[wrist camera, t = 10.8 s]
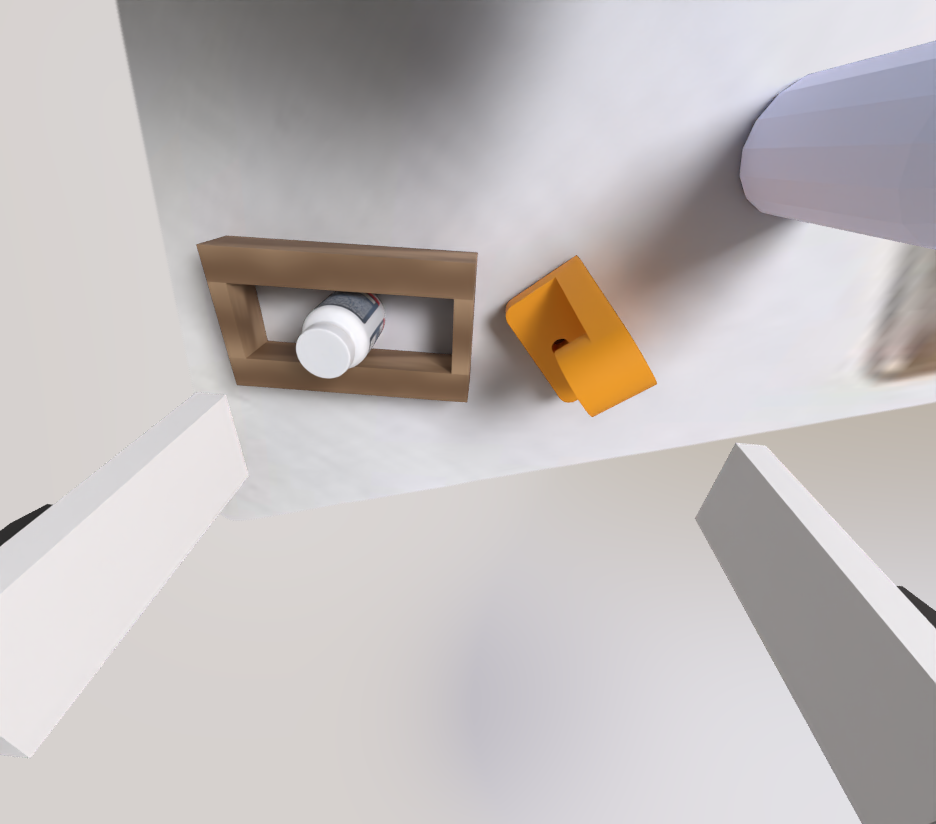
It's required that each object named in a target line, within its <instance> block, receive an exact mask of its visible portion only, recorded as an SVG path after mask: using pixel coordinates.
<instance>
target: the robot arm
mask: <svg viewBox="0 0 936 824" xmlns="http://www.w3.org/2000/svg"><path fill="white" fill-rule="evenodd" d="M248 476H249V473H248V470H247V466H246V463H245V459H244V456H243V453H242V449H241V446H240V442H239V439H238V435H237V432H236V428H235V425H234V421H233V418H232V414H231V411H230V407H229V404H228V401H227V397H226V395H224V394H213V393H203V392H196V393H194V394H193V395H192V396H191V397H190V398H188V399H187V400H186V401H185V402H183V403H182V404H181V405H179V406H178V407H177V408H175V409H174V410H173V411H172V412H170V413H169V414H168V415H167V416H165V417H164V418H163V419H161V420H160V421H159V422H158V423H156V424H155V425H154V426H153V427H151V428H150V429H149V430H148V431H146V432H145V433H144V434H143V435H141V436H140V437H139V438H137V439H136V440H135V441H134V442H132V443H131V444H130V445H129V446H127V447H126V448H125V449H123V450H122V451H121V452H120V453H118V454H117V455H116V456H115V457H113V458H112V459H111V460H109V461H108V462H107V463H106V464H105V465H103V466H102V467H101V468H99V469H98V470H97V471H95V472H94V473H93V474H92V475H90V476H89V477H88V478H87V479H85V480H84V481H83V482H82V483H80V484H79V485H78V486H76V487H75V488H74V489H73V490H71V491H70V492H69V493H68V494H66V495H65V496H64V497H62V498H61V499H60V500H59V501H58V502H56V503H55V504H54V505H50V504H47V505H45V506H43V507H41V508H39V509H37V510H35V511H33V512H31V513H29V514H27V515H25V516H24V517H22V518H20V519H18V520H16V521H14V522H12V523H10V524H9V525H7V526H6V527H5V528H4V529H2V530H1V531H0V755H4V756H13V757H24V758H31V757H32V755H33V754H34V753H35V751H36V750H37V749H38V748H39V746H40V745H41V744H42V742H43V741H44V740H45V738H46V737H47V736H48V735H49V733H50V732H51V731H52V729H53V728H54V727H55V726H56V724H57V723H58V722H59V720H60V719H61V718H62V717H63V715H64V714H65V713H66V711H67V710H68V709H69V707H70V706H71V705H72V704H73V702H74V701H75V700H76V698H77V697H78V696H79V695H80V693H81V692H82V691H83V689H84V688H85V687H86V685H87V684H88V683H89V682H90V680H91V679H92V678H93V676H94V675H95V674H96V672H97V671H98V670H99V668H100V667H101V666H102V665H103V663H104V662H105V661H106V660H107V658H108V657H109V656H110V654H111V653H112V652H113V651H114V649H115V648H116V647H117V645H118V644H119V643H120V641H121V640H122V639H123V638H124V636H125V635H126V634H127V633H128V631H129V630H130V629H131V627H132V626H133V625H134V623H135V622H136V621H137V619H138V618H139V617H140V616H141V614H142V613H143V612H144V610H145V609H146V608H147V607H148V605H149V604H150V603H151V601H152V600H153V599H154V598H155V596H156V595H157V594H158V592H159V591H160V590H161V589H162V587H163V586H164V585H165V583H166V582H167V581H168V580H169V578H170V577H171V575H172V574H173V573H174V572H175V570H176V569H177V568H178V567H179V565H180V564H181V563H182V561H183V560H184V559H185V558H186V556H187V555H188V554H189V552H190V551H191V550H192V548H193V547H194V546H195V545H196V543H197V542H198V541H199V539H200V538H201V537H202V536H203V534H204V533H205V532H206V530H207V529H208V528H209V527H210V525H211V524H212V522H213V521H214V520H215V519H216V517H217V516H218V515H219V514H220V512H221V511H222V510H223V508H224V507H225V506H226V505H227V503H228V502H229V501H230V499H231V498H232V497H233V496H234V494H235V493H236V492H237V490H238V489H239V488H240V486H241V485H242V484H243V483H244V481H245V480H246V479H247V477H248ZM695 519H696V521H697V523H698V525H699V526H700V528H701V530H702V532H703V534H704V536H705V538H706V539H707V541H708V543H709V545H710V547H711V549H712V550H713V552H714V554H715V556H716V558H717V559H718V561H719V563H720V565H721V567H722V569H723V571H724V572H725V574H726V576H727V578H728V580H729V581H730V583H731V585H732V587H733V589H734V591H735V592H736V594H737V596H738V598H739V600H740V602H741V603H742V605H743V607H744V609H745V611H746V613H747V614H748V616H749V618H750V620H751V621H752V623H753V625H754V627H755V629H756V631H757V633H758V635H759V636H760V638H761V640H762V642H763V644H764V646H765V647H766V649H767V651H768V653H769V655H770V656H771V658H772V660H773V662H774V664H775V666H776V667H777V669H778V671H779V673H780V675H781V676H782V678H783V680H784V682H785V684H786V686H787V688H788V689H789V691H790V693H791V695H792V697H793V699H794V700H795V702H796V704H797V706H798V708H799V709H800V711H801V713H802V715H803V717H804V719H805V720H806V722H807V724H808V726H809V728H810V730H811V731H812V733H813V735H814V737H815V739H816V741H817V742H818V744H819V746H820V748H821V750H822V752H823V753H824V755H825V757H826V759H827V761H828V762H829V764H830V766H831V768H832V770H833V772H834V773H835V775H836V777H837V779H838V781H839V783H840V785H841V786H842V788H843V790H844V792H845V794H846V795H847V797H848V799H849V801H850V803H851V805H852V806H853V808H854V810H855V812H856V814H857V815H858V817H859V819H860V821H861V823H862V824H936V611H935V610H933V609H932V608H931V607H929V606H928V605H927V604H925V603H924V602H923V601H921V600H920V599H918V598H917V597H916V596H915V595H913V594H912V593H911V592H909V591H908V590H907V589H905V588H904V587H902V586H896V585H895V584H894V583H893V582H892V581H891V580H890V579H889V578H888V577H887V576H886V575H885V574H884V573H883V572H882V570H881V569H880V568H879V567H878V566H877V565H876V564H875V563H874V562H873V561H872V560H871V559H870V557H869V556H868V555H867V554H866V553H865V552H864V551H863V550H862V549H861V548H860V547H859V546H858V545H857V543H856V542H855V541H854V540H853V539H852V538H851V537H850V536H849V535H848V534H847V533H846V532H845V531H844V529H843V528H842V527H841V526H840V525H839V524H838V523H837V522H836V521H835V520H834V519H833V518H832V517H831V515H830V514H829V513H828V512H827V511H826V510H825V509H824V508H823V507H822V506H821V505H820V503H819V502H818V501H817V500H816V499H815V498H814V497H813V496H812V495H811V494H810V493H809V492H808V491H807V489H806V488H805V487H804V486H803V485H802V484H801V483H800V482H799V481H798V480H797V479H796V478H795V477H794V475H793V474H792V473H791V472H790V471H789V470H788V469H787V468H786V467H785V466H784V465H783V464H782V463H781V461H780V460H779V459H778V458H777V457H776V456H775V455H774V454H773V453H772V452H771V451H770V450H769V449H768V447H767V446H764V445H753V444H743V443H735V445H734V447H733V449H732V451H731V452H730V454H729V456H728V458H727V460H726V462H725V464H724V466H723V467H722V470H721V471H720V473H719V475H718V477H717V479H716V480H715V482H714V484H713V486H712V488H711V490H710V492H709V494H708V495H707V497H706V499H705V501H704V503H703V505H702V507H701V508H700V510H699V512H698V514H697V516H696V518H695Z"/></svg>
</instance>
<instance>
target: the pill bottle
mask: <svg viewBox="0 0 936 824" xmlns="http://www.w3.org/2000/svg"><path fill="white" fill-rule="evenodd" d="M384 325H385V311H384V308H383V306H382V304H381V302H380V300H379V299H378V298H377V296H376V295H375V294H374V293H361V292H347V291H335V292H333V293H332V294H331V295H330V296H329V297H328V298H326V299H325V300H324V301H323V302H322V303H321V304H320V305H318V306H317V307H316V308H315V309H314V310H313V311H312V312H311V313H309V315H308V316H307V317H306V319H305V321H304V323H303V327H302V334H301V335H300V336H299V338H298V340H297V343H296V353H297V357H298V359H299V361H300V363H301V364H302V365H303V367H304V368H305V369H306V370H308V371H309V372H310V373H312V374H314V375H316V376H318V377H321V378H336V377H339V376H341V375H342V374H344V373H345V372H346V371H347V369H349V368H352V367H355V366H357V365H358V364H359V363H361V362H362V361H363V360H364V358H365V357H366V356H367V355H368V353H369V351H370V350H371V348H372V347H373V345H374V344H375V342H376V340H377V339H378V337H379V335H380V334H381V332H382V330H383V328H384Z"/></svg>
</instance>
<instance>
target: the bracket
mask: <svg viewBox="0 0 936 824" xmlns="http://www.w3.org/2000/svg"><path fill="white" fill-rule="evenodd" d="M505 311H506V321H507V323H508V324H509V326H510V327H511V329H512V330H513V331H514V333H515V334H516V336H517V337H518V339H519V340H520V342H521V343H522V344H523V346H524V347H525V349H526V350H527V352H528V353H529V355H530V356H531V357H532V359H533V360H534V362H535V363H536V365H537V366H538V368H539V369H540V370H541V372H542V373H543V375H544V376H545V378H546V379H547V380H548V382H549V383H550V385H551V386H552V388H553V389H554V391H555V392H556V393H557V395H558V396H559V398H560V399H561V400H562V401H564V402H574V401H576V400H579V401H580V403H581V404H582V406H583V407H584V409H585V410H586V411H587V413H588V414H589V415H590V416H591V417H594V416H596V415H598V414H600V413H601V412H603V411H605V410H607V409H609V408H611V407H613V406H615V405H617V404H619V403H621V402H623V401H625V400H627V399H629V398H631V397H633V396H635V395H637V394H639V393H641V392H643V391H644V390H646V389H648V388H650V387H652V386H654V385H656V384H657V382H656V380H655V377H654V375H653V373H652V372H651V370H650V368H649V366H648V364H647V362H646V361H645V359H644V357H643V355H642V354H641V352H640V350H639V349H638V347H637V345H636V343H635V342H634V340H633V339H632V337H631V335H630V334H629V332H628V331H627V329H626V327H625V326H624V324H623V323H622V321H621V320H620V318H619V317H618V315H617V314H616V312H615V311H614V309H613V308H612V306H611V305H610V303H609V302H608V300H607V299H606V297H605V296H604V294H603V293H602V291H601V290H600V288H599V287H598V285H597V284H596V282H595V281H594V279H593V278H592V276H591V275H590V273H589V272H588V270H587V269H586V267H585V266H584V264H583V263H582V261H581V260H580V258H579V257H578V256H577V255H576V256H575V257H573V258H572V259H570V260H569V261H567V262H566V263H564V264H563V265H561V266H560V267H558V268H557V269H555V270H554V271H552V272H551V273H549V274H548V275H547V276H545V277H544V278H542V279H541V280H539V281H538V282H536V283H535V284H533V285H532V286H530V287H529V288H527V289H526V290H524V291H523V292H521V293H520V294H518V295H517V296H515V297H514V298H513V299H511V300H510V301H509V302H508V303H507V305H506V309H505ZM558 339H564V341H562V342H561V343H559V344H554V342H555V341H556V340H558Z"/></svg>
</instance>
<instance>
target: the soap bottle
mask: <svg viewBox="0 0 936 824" xmlns="http://www.w3.org/2000/svg"><path fill="white" fill-rule="evenodd" d="M739 176H740V179H741V183H742V186H743V190H744V193H745V196H746V199H747V200H748V201H750V202H751V203H752V204H753V205H754V206H755V207H756V208H757V209H758V210H759V211H760V212H762V213H766V214H771V215H775V216H779V217H784V218H789V219H793V220H798V221H803V222H807V223H812V224H817V225H822V226H826V227H831V228H836V229H841V230H845V231H850V232H855V233H859V234H864V235H869V236H874V237H878V238H883V239H888V240H892V241H897V242H902V243H907V244H911V245H916V246H921V247H926V248H930V249H935V250H936V41H933V42H929V43H925V44H921V45H918V46H914V47H910V48H906V49H903V50H899V51H895V52H891V53H887V54H884V55H880V56H876V57H872V58H868V59H865V60H861V61H857V62H853V63H849V64H846V65H842V66H838V67H834V68H830V69H827V70H823V71H819V72H815V73H811V74H808V75H806V76H805V77H803V78H802V79H800V80H799V81H797V82H796V83H794V84H793V85H791V86H790V87H788V88H787V89H785V90H784V91H782V92H781V93H779V94H778V96H777V97H776V98H775V99H774V100H773V101H772V103H771V104H770V105H769V106H768V107H767V108H766V110H765V111H764V112H763V113H762V114H761V115H760V117H759V118H758V119H757V120H756V122H755V124H754V126H753V128H752V130H751V132H750V134H749V137H748V139H747V141H746V143H745V145H744V147H743V151H742V158H741V166H740V174H739Z"/></svg>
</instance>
